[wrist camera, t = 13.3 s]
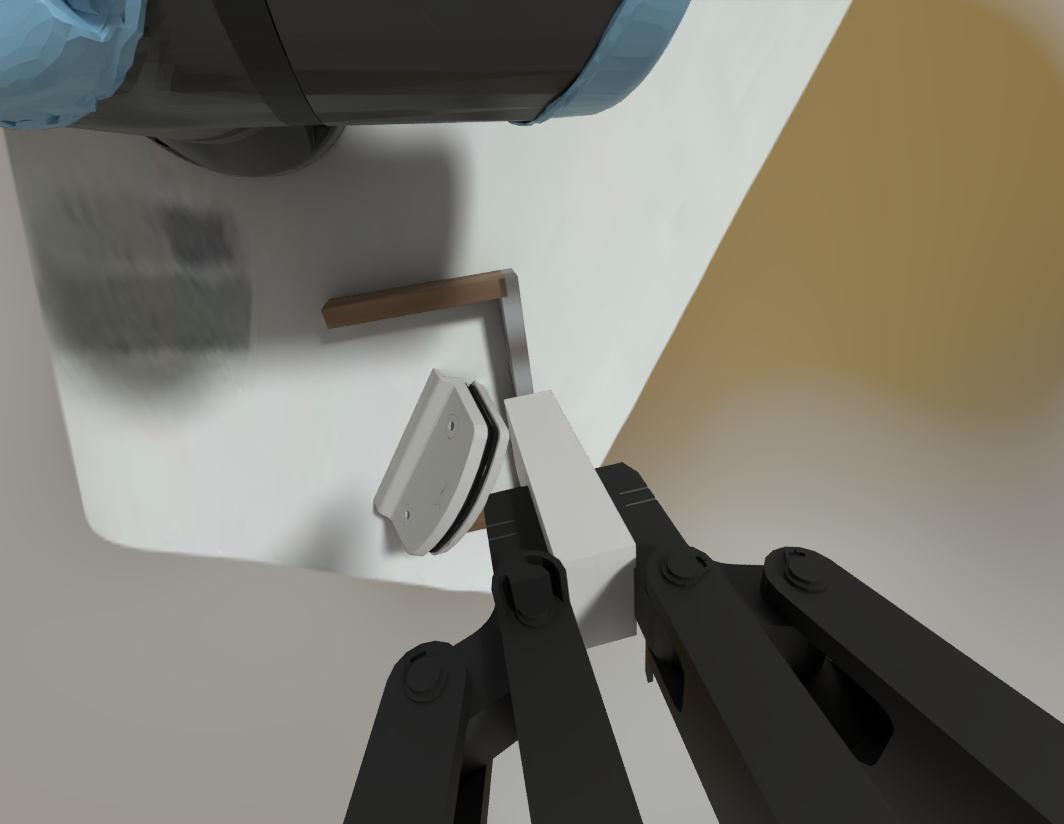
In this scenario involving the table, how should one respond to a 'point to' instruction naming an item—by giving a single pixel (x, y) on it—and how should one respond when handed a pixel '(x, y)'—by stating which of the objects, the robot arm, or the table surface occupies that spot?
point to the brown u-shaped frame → (445, 296)
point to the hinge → (443, 465)
